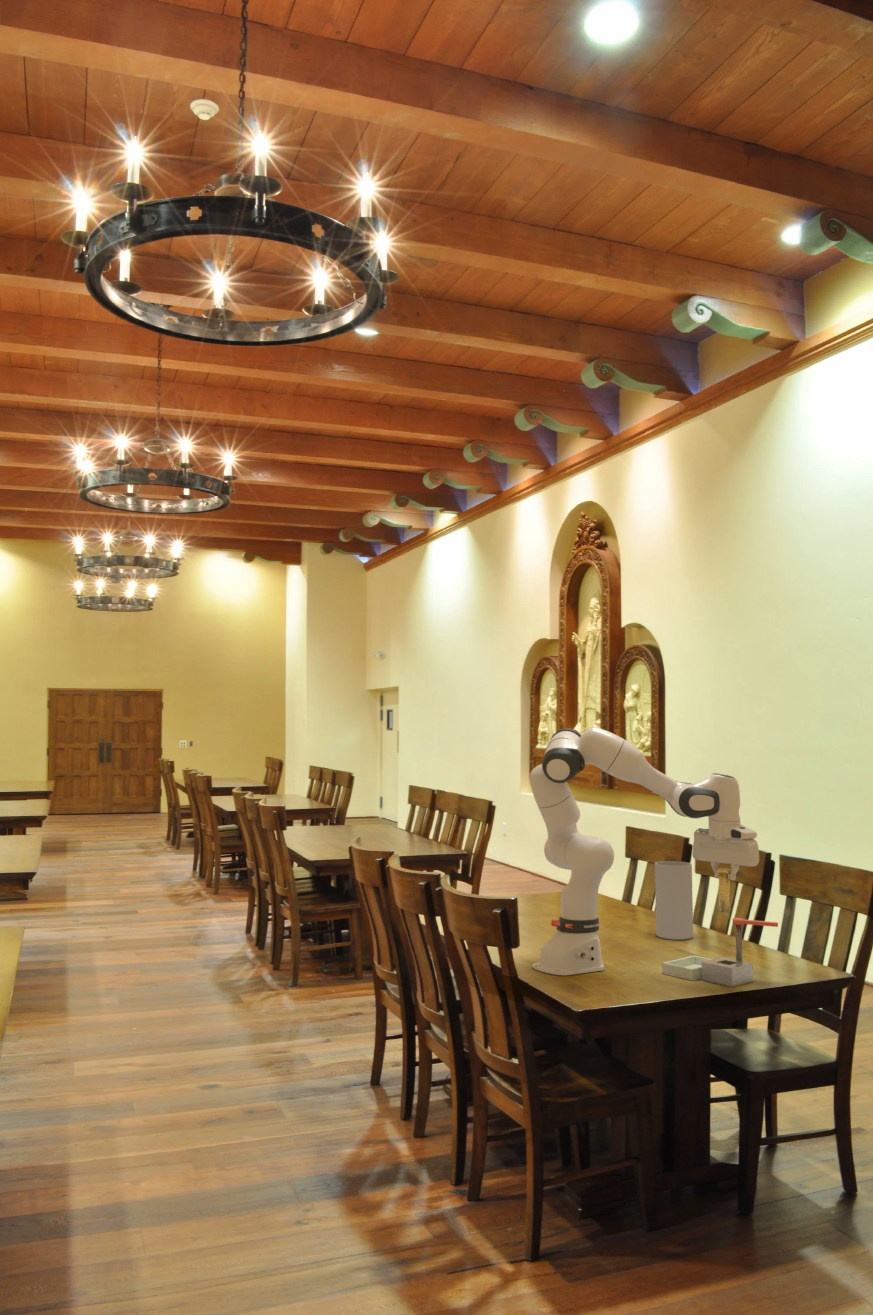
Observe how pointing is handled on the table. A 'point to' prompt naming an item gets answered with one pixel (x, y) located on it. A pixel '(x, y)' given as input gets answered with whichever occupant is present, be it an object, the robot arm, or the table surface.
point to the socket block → (729, 967)
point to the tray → (685, 967)
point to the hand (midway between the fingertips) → (725, 879)
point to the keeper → (753, 922)
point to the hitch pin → (724, 890)
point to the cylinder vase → (674, 900)
